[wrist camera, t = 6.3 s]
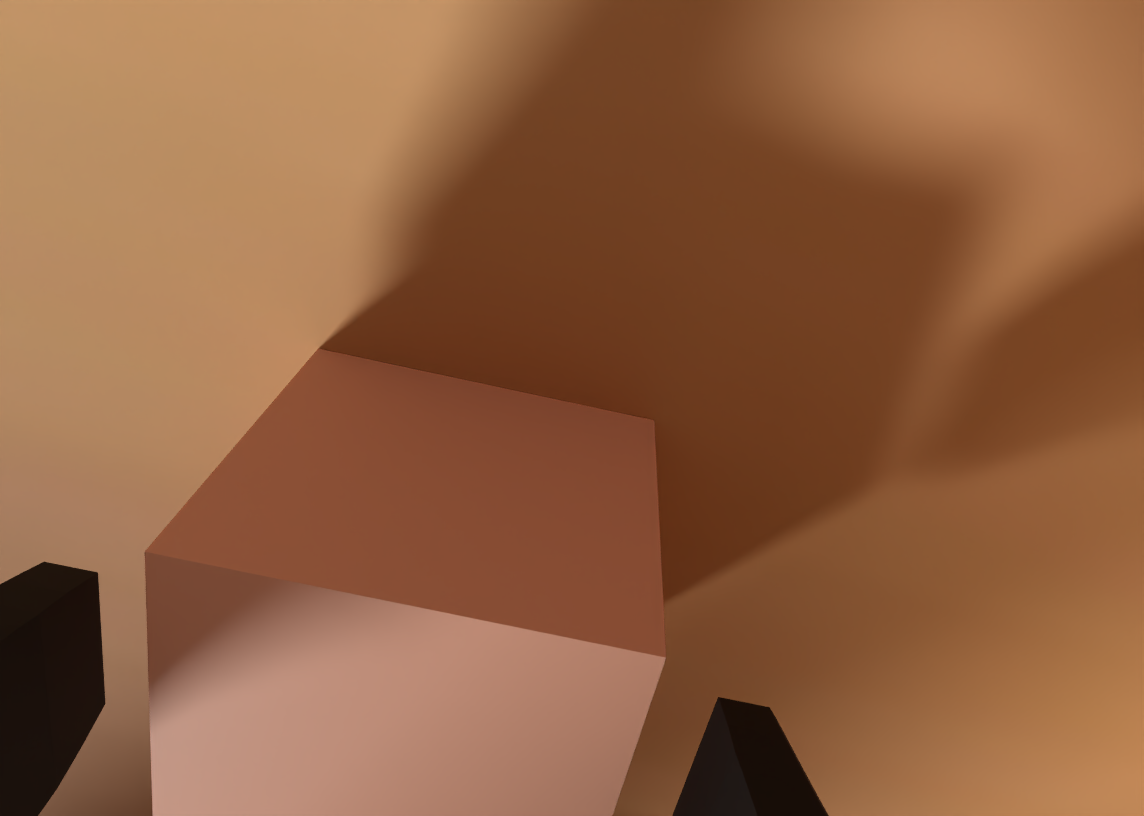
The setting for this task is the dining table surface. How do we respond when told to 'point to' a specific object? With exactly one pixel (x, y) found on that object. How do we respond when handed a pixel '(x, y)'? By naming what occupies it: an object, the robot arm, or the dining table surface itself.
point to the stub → (408, 605)
